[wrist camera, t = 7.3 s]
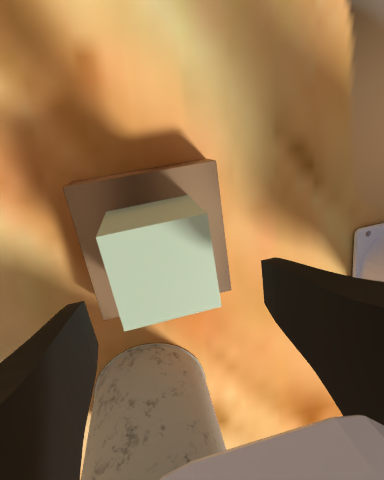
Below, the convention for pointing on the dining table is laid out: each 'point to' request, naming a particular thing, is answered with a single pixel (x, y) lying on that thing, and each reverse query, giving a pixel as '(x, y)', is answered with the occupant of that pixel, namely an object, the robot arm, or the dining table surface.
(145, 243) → the sage cube
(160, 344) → the grey cylinder
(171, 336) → the dining table surface
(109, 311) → the walnut slab
